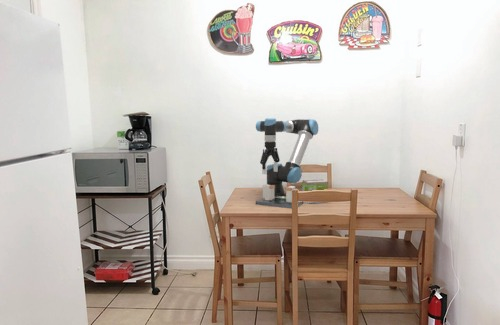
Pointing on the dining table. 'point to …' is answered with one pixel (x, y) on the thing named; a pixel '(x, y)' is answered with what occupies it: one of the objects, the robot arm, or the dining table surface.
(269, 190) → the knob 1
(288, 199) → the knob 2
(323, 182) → the tea box
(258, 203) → the levelling base
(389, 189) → the dining table surface
